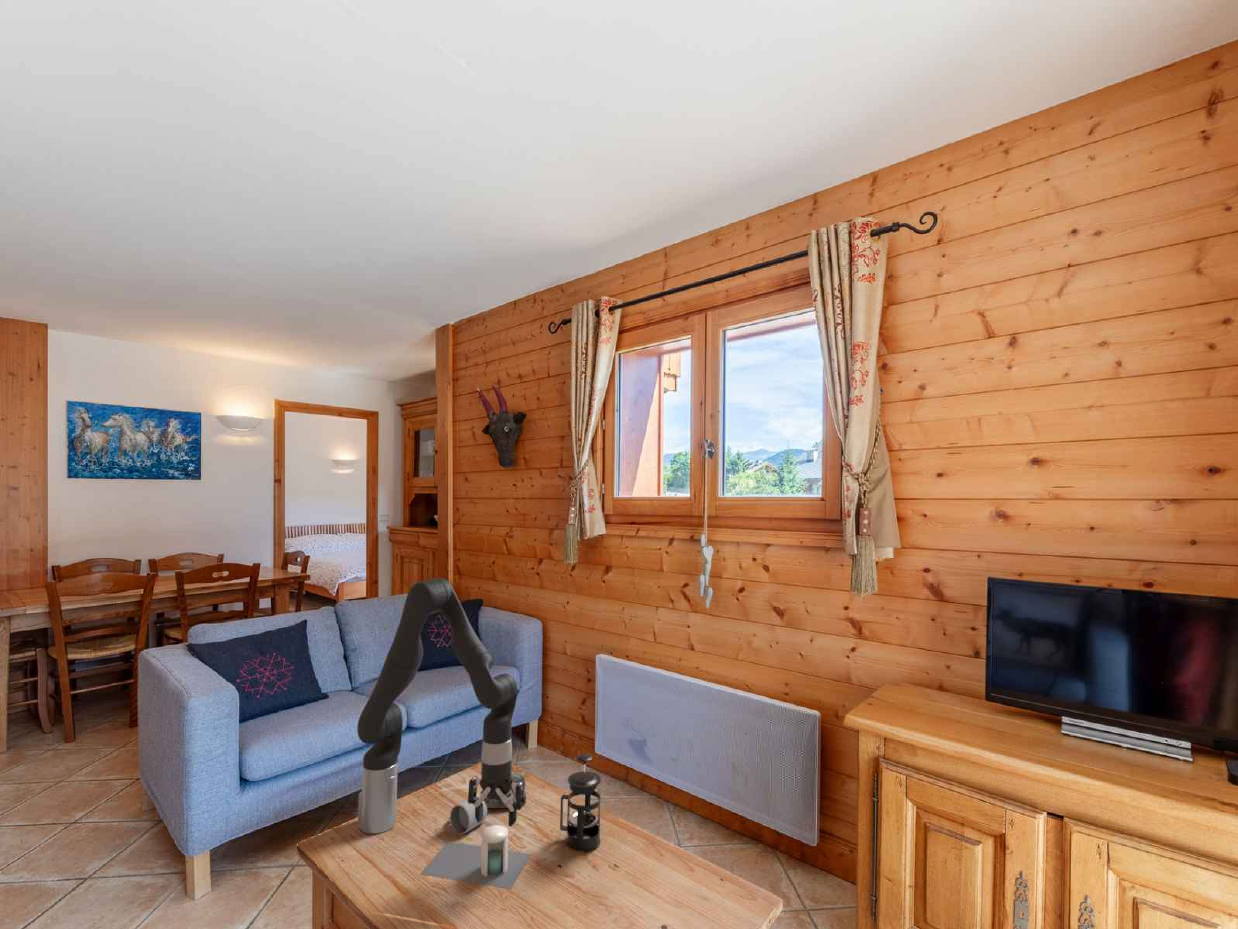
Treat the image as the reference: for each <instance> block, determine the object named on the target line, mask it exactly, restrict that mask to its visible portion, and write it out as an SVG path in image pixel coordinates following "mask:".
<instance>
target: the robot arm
mask: <svg viewBox="0 0 1238 929" xmlns="http://www.w3.org/2000/svg"><path fill="white" fill-rule="evenodd" d="M436 613H440V614H441V615H442V616H443V618H445V620H446V622H447V623H448V626H449V629H450V633H451V640H452V642H451V643H452V648H453V651H454V654H455V655H456V658H457V660H458V661H459V662H460V664H461V665H462V667H463V668H464V670H465V671H466V673H467V674H468V676H469V679H470V684H471V685H472V688H473V691H474V693H475V697H476V699H477V700H478V702H479V703H480V705H481V706H482V707H484V708H486V709H488V710H490V712H489V713H488V714H487V715H486V716H485V718H484V720H483V725H482V727H483V729H482V745H481V771H480V773H481V774H480V775H481V778H480V777H478V775H474V776H472V777H471V779H470V780H468V781H469V782H468V792H467V793H468V794H467V800H468V803H469V804H471V803H472V804H474V806H475V819H477V822H480V821H481V820H482V819H483V803H482V802H483V800H484V799H485V798H486V796H487V797H488V798H489V799H496V800H501V799H502V801H503V803H504V804H505V805H507V807H506V808H508V810H509V811H508V827H513V825H515V823H516V822H517V814H518V813H517V811H520V810H522V808H523V806H525V805H524V783H523V781H520V782H519V783H514V782H512V779H511V774H512V771H513V769H512V767H513V759H512V758H513V744H512V719H513V717H514V712H515V708H516V703H517V699H518V685H517V682H516V680H515V677H513V676H512V675H511V674H510V673H501V674H497V675H496V676H492V674H491V671H490V670H491V669H492V668H493V666H494V659H493V657H492V655H491V654H490V652H489V651H488V649H487V648H486V647H485V645H484V643H483V642H482V641H481V640H480V638H479V637H478V635H477V633H476V632H475V630H474V628H473V626H472V625H471V623H470V620H469V618H468V617H467V614H466V612H465V609H464V607H463V606H462V603H461V602H460V600H459V597H458V595H457V593H456V591H455V590H454V588H453V586H452V584H451V583H450V582H449V581H448V580H447V579H446V578H443V577H435V578H428V579H425V580H420V581H418V582H416V583H414V584H413V585H412V586H411V587H410V588H409V590H408V593H407V595H406V598H405V602H404V606H403V610H402V613H401V618H400V620H399V624H398V627H397V629H396V632H395V635H394V638H393V641H392V643H391V646H390V648H389V650H388V653H387V655H386V657H385V660H384V662H383V665H382V669H381V672H380V674H379V676H378V679H377V681H376V683H375V686H374V687H373V690H372V692H371V694H370V696H369V698H368V700H367V702H366V703H365V705H364V707H363V710H362V711H361V713H360V715H359V718H358V722H357V730H356V731H357V735H358V738H359V740H360V742H362V743H363V744H366V745H372V744H373V745H372V746H371V747H370V748H369V749H368V750H367V751H366V752H365V753H364V754H363V759H362V782H361V783H362V785H361V791H360V792H359V794H358V807H357V809H358V810H357V811H358V812H357V829H360V830H361V831H362V832H363V833H365V834H371V835H375V834H381V833H385V832H388V831H389V830H391V829H392V828H394V826H395V825H396V823H397V821H396V820H397V796H398V794H397V793H398V766H399V763H398V762H399V761H398V760H399V754H400V752H401V749H402V739H403V738H402V737H403V726H404V725H403V722H404V720H403V713H402V709H401V708H400V706H399V705H398V704H397V703H395V701H396V700H397V698H398V697H399V696H401V695H402V693H403V692H404V691H405V690H406V689H407V687H409V686H410V684H411V683H412V681H414V678H415V677H416V675H417V673H418V672H419V671H418V670H419V668H420V666H421V663H422V660H423V658H424V646H423V641H422V638H421V633H422V630H423V627H424V625H425V623H426V621H427V619H428V617H429V616H430V615H433V614H436ZM479 786H480V788H481V790H483V791H484V792H483V793H482V794H481V793H480V796H477V793H478V787H479ZM511 788H513V789H514V792H515V793H516V800H515V799H514V795H513V793H512V792H511V790H510V789H511ZM506 795H507V796H508V798H507V797H506ZM478 797H479V798H478Z"/></svg>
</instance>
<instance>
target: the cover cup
mask: <svg viewBox="0 0 1238 929" xmlns="http://www.w3.org/2000/svg"><path fill="white" fill-rule="evenodd" d="M480 846H481V874H483V875H484V876H485V877H486V876H487V864H488V852H490V851H492V850H499V851H501V852H502V853H503V859H502V864H503V873H505V872H506V870H507V866H508V851H509V829H508V828H507V827H506V826H504V825H500V824H499V825H498V824H495V825H490V826H487V827H486V828H485V829H483V830H482V832H481V845H480Z"/></svg>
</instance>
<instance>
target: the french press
mask: <svg viewBox="0 0 1238 929" xmlns="http://www.w3.org/2000/svg"><path fill="white" fill-rule="evenodd" d="M576 758H577V760H578V761H580V762H582V764H583V771H578V772H575V773H572V774H570V776H569V777H568V778H567V781H568V785H569V790H570V791H571V792H570V793H569V794H562V795H561V797H560V813H559V814H560V820H559V821H560V822H559V823H560V824H559V830H560V831H564V832H566V840H565V843H566V846H567V847H569V849H571V850H574V851H576V852H583V853H590V852H593V851H595V850H597V849H598V848H599V847H600V845H601V837H600V836H601V801H602V800H601V795H600V793H599V792H597V791H596V788H597V787H598V786H599V784H601V782H602V778H601V775H599V774H598V773H595V772H592V771H586V765H587V763H588V762H589V761H592V760H593V756H592V755H591V754H588V753H583V754H579V755H578V756H577V757H576ZM578 795H579V796H580V795H581V796H582V795H583V802H582V803H583V804H582V805H579V804H575V803H573V802H572V801H571V798H573V797H576V796H578ZM591 796H593V797H595V798H597V799H598V800H597V802H595V803H593V804H592V803H591ZM564 800H567V811H566V812H567V813H566V814H567V819H566V820H567V822H566V824H567V825H566V826H565V825H564V824H563V823H564V822H563V821H564ZM597 808H598V813H596V811H593V810H595V809H597ZM570 809H572V810H575V811H573V812H572V813H570ZM584 835H589V836H592V837H590V838H584ZM575 836H576V837H575Z"/></svg>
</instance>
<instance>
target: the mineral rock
mask: <svg viewBox="0 0 1238 929" xmlns="http://www.w3.org/2000/svg"><path fill="white" fill-rule="evenodd" d="M511 779H512V782H514V783H519V782H520V781H523V783H524V804H525V805H526V803H527V792H526V778H525V773H524V772H522V771H519V772H515V771H514V770H512V774H511ZM510 790H511V792H512V793H513V795H514V799H515V800H516V793H515V792H514V789H513V788H511V789H510ZM483 792H484V791H483V789H481V791H480V793H479V794H480V795H481V794H482V793H483ZM506 797H507V798H508V796H507V795H506ZM484 801H485V803H486V806H487V809H488V808H491V809H498V808H499V809H502V808H508V807H507V805H505V804H504V803H503V801H502V799H501V800H496V799H489V798H488V797H487V796H486V798H485V799H484Z"/></svg>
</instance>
